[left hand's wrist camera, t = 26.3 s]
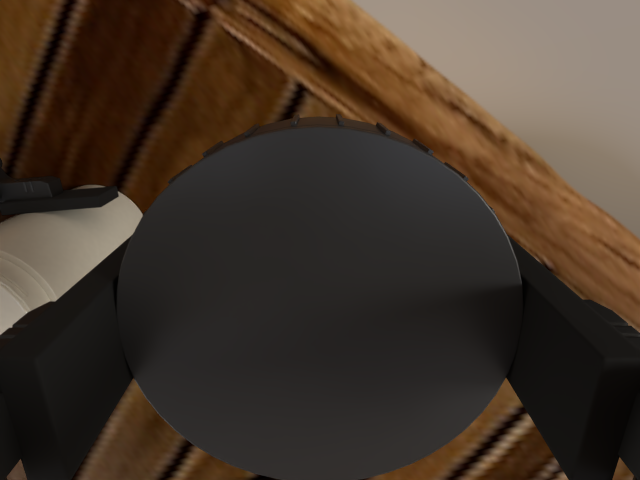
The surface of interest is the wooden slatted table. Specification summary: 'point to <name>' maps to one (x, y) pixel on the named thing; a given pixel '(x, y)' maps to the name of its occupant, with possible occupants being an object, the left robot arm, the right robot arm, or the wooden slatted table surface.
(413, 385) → the lid
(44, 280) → the jar
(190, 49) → the wooden slatted table surface
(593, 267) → the wooden slatted table surface
